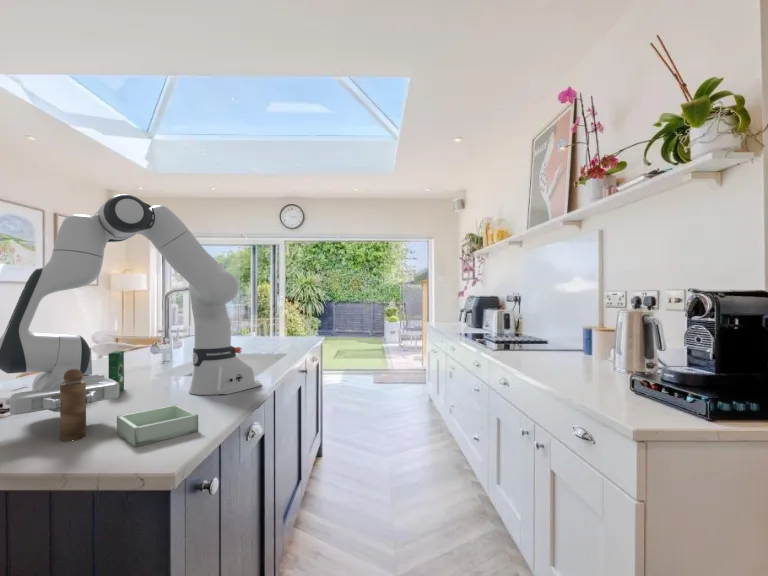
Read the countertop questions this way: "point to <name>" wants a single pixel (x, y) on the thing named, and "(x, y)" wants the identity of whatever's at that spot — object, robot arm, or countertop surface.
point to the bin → (156, 424)
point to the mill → (73, 406)
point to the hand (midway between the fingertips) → (74, 402)
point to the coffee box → (117, 368)
